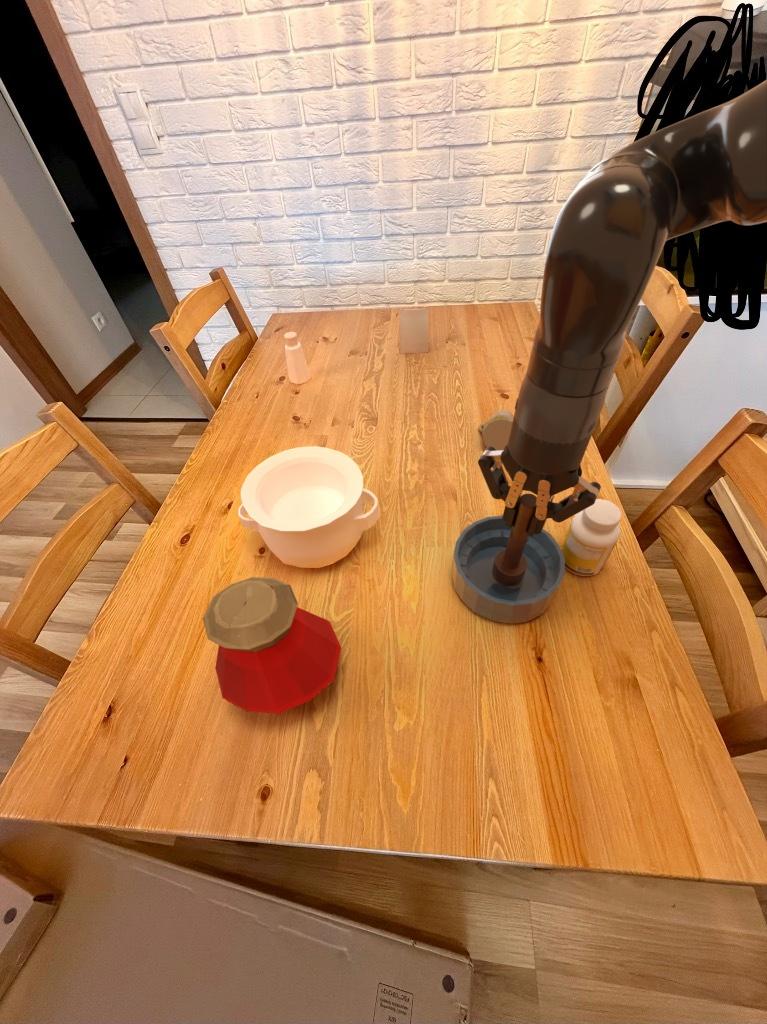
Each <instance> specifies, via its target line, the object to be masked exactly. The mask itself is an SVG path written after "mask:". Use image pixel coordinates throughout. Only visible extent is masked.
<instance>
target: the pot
mask: <svg viewBox="0 0 767 1024" xmlns="http://www.w3.org/2000/svg"><path fill="white" fill-rule="evenodd" d="M364 485H365V484H364V476H363V473H362V471H361V469H360V468H359V465H358V464H357V462H355V461H354V460H353V459H352V458H351V457H350V456H349V455H347V454H346V453H344V452H342V451H339V450H335V449H334V448H333V449H332V448H329V447H325V446H324V447H323V446H318V445H317V446H315V445H312V446H311V445H310V446H298V447H297V446H296V447H293V448H289V449H286V450H282V451H280V452H278V453H275V454H273V455H271V456H268V457H267V458H266V459H264V460H263V461H262V462H260V463H259V464H258V465H256V466H255V467H254V468H253V469H252V470H251V471H250V472H249V473H248V474H247V475H246V478H245V480H244V482H243V483H242V486H241V488H240V500H241V505H240V506H239V507H238V509H237V512H238V513H237V515H238V518H239V521H240V524H241V526H242V527H244V528H245V529H246V530H249V531H251V532H258V533H259V535H260V536H261V538H262V540H263V542H264V543H265V545H266V547H267V548H268V549H269V550H270V551H271V553H272V554H273V555H274V556H275V557H276V558H277V559H278V560H279V561H280V562H281V563H282V564H284V565H289V566H292V567H297V568H299V569H301V568H302V569H320V568H323V567H327V566H330V565H333V564H334V563H337V562H338V561H340V560H342V559H343V558H345V557H347V556H348V555H349V553H351V551H352V550H353V549H354V548H355V547H356V546H357V544H358V542H359V541H360V539H361V538H362V536H363V533H364V531H367V530H370V529H371V528H372V527H373V526H374V525H375V524H376V523H377V522H378V521H379V519H380V517H381V508H380V503H379V500H378V497H377V495H375V493H374V492H373V491H371V490H369V489H367V488H365V486H364ZM365 504H369V505H371V506H372V507H371V509H370V510H369V511H368V512H366V513H365V510H364V505H365ZM247 515H248V516H249V518H248V517H246V516H247Z"/></svg>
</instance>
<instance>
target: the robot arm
mask: <svg viewBox="0 0 767 1024" xmlns="http://www.w3.org/2000/svg"><path fill="white" fill-rule="evenodd" d="M728 221H730V222H733V223H735V224H737V225H740V226H754V225H760V224H763V223H767V79H765V80H764V81H763V82H761V83H759V84H758V85H756V86H754V87H752V88H751V89H749V90H748V91H746V92H744V93H742V94H741V95H739V96H737V97H735V98H733V99H731V100H729V101H725V102H723V103H722V104H719V105H717V106H714V107H711V108H709V109H706V110H703V111H701V112H698V113H696V114H694V115H692V116H689V117H687V118H685V119H683V120H680V121H677V122H675V123H673V124H670V125H668V126H666V127H663V128H661V129H659V130H657V131H654V132H652V133H650V134H648V135H645V136H644V137H642V138H639V139H638V140H635V141H633V142H631V143H629V144H628V145H626V146H624V147H622V148H620V149H618V150H616V151H614V152H613V153H611V154H609V155H607V156H606V157H605V158H603V159H602V160H600V161H599V162H598V163H596V164H594V166H593V167H592V168H591V169H589V171H588V172H587V173H586V174H585V175H584V177H583V178H582V179H581V180H580V181H579V183H578V184H577V186H575V189H574V190H573V191H572V193H571V194H570V196H569V197H568V198H567V200H566V201H565V202H564V204H563V206H562V207H561V209H560V210H559V213H558V215H557V217H556V220H555V223H554V226H553V227H552V232H551V235H550V238H549V243H548V248H547V251H546V256H545V263H544V270H543V275H542V284H541V294H540V295H541V297H540V308H539V321H538V325H537V327H536V330H535V334H534V338H533V341H532V346H531V351H530V354H529V355H530V356H529V360H528V364H527V369H526V372H525V374H524V377H523V380H522V382H521V385H520V388H519V392H518V397H517V398H516V401H515V406H514V415H513V417H514V418H513V423H512V428H511V432H510V437H509V441H508V445H507V446H506V447H505V448H504V450H498V451H496V450H495V448H493V447H485V450H484V451H483V452H482V454H481V455H480V457H479V459H478V461H477V464H478V467H479V469H480V471H481V473H482V476H483V479H484V481H485V483H486V486H487V488H488V490H489V493H490V496H491V497H492V498H493V499H494V500H502V501H503V503H504V509H503V513H502V515H503V517H502V518H503V521H505V522H506V526H507V527H509V528H511V527H512V525H513V522H514V518H515V514H516V511H517V507H518V503H519V499H520V497H521V496H522V494H523V491H525V492H529V493H531V494H533V495H535V496H536V497H537V501H536V506H537V507H536V512H535V514H534V516H533V518H532V521H531V524H530V527H529V530H528V534H527V535H529V536H532V537H533V535H534V533H535V534H538V535H539V534H540V533H541V531H542V529H544V527H545V525H546V522H547V520H548V519H552V521H553V522H554V523H557V524H558V523H562V522H564V521H566V520H568V519H570V518H572V517H574V516H575V515H576V514H577V513H579V512H581V511H583V510H584V509H586V508H588V507H590V506H592V505H593V504H594V503H595V501H596V499H598V496H599V493H600V491H601V489H602V486H601V484H600V482H597V481H590V482H589V481H588V480H586V479H585V478H584V477H583V476H582V475H583V470H582V466H581V465H582V462H583V459H584V456H585V454H586V451H587V449H588V446H589V444H590V441H591V438H592V436H593V433H594V431H595V429H596V427H597V425H598V421H599V418H600V416H601V413H602V411H603V407H604V405H605V401H606V396H607V392H608V388H609V384H610V382H611V379H612V377H613V374H614V372H615V370H616V366H617V364H618V361H619V359H620V357H621V354H622V350H623V347H624V346H625V342H626V337H627V333H628V327H629V325H630V323H631V321H632V319H633V317H634V315H635V313H636V311H637V309H638V307H639V305H640V302H641V300H642V299H643V296H644V293H645V291H646V289H647V287H648V285H649V283H650V280H651V278H652V276H653V273H654V271H655V268H656V266H657V264H658V262H659V259H660V257H661V255H662V252H663V249H664V246H665V244H666V242H667V241H669V240H672V239H674V238H677V237H681V236H683V235H686V234H688V233H691V232H695V231H697V230H701V229H704V228H708V227H710V226H712V225H716V224H719V223H722V222H728ZM503 466H504V468H503ZM504 469H505V471H506V472H507V474H508V476H509V478H510V480H511V481H512V483H511V485H509V481H508V479H507V476H506V473H505V471H504ZM572 488H573V491H572V493H571V494H569V495H568V496H566V497H565V498H563V499H561V500H559V501H558V502H554V499H555V495H558V494H560V493H562V492H564V491H566V490H569V489H572Z"/></svg>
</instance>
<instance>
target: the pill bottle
mask: <svg viewBox="0 0 767 1024" xmlns="http://www.w3.org/2000/svg"><path fill="white" fill-rule="evenodd" d="M621 519H622V512H621V510H620V508H619V506H617V505H616V504H615V502H612V501H610V500H608V499H603V498H596V501H595V503H594V504H593V505H592V506H590V507H588V508H586V509H584V510H582V511H581V512H579V513H577V514H575V515H573V518H572V520H571V522H570V525H569V527H568V530H567V533H566V535H565V537H564V540H563V543H562V545H561V547H560V548H561V551H562V553H563V556H564V558H565V569H566V570H567V571H569V572H571V573H572V574H574V575H577V576H580V577H581V576H582V577H591V576H594V575H598V574H599V573H600V572H602V570H603V569H604V567H605V565H606V563H607V561H608V559H609V558H610V555H611V554H612V553H613V551H614V548H615V547H616V545H617V543H618V541H619V539H620V537H621V526H620V521H621Z"/></svg>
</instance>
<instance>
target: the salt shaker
mask: <svg viewBox="0 0 767 1024" xmlns="http://www.w3.org/2000/svg"><path fill="white" fill-rule="evenodd" d="M283 338H284V340H285V344H284V355H285V361H286V368H287V369H286V370H287V375H288V380H289V383H290V384H293V385H302V384H303V385H304V384H307V383H308V382H309V381H310V380H311V379H312V375H311V372H310V369H309V365H308V362H307V360H306V357H305V353H304V349H303V347H302V344H301V342H300V341H299V339H298V334H297V333H296V332H295V331H288V332H286V333H284V335H283Z"/></svg>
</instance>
